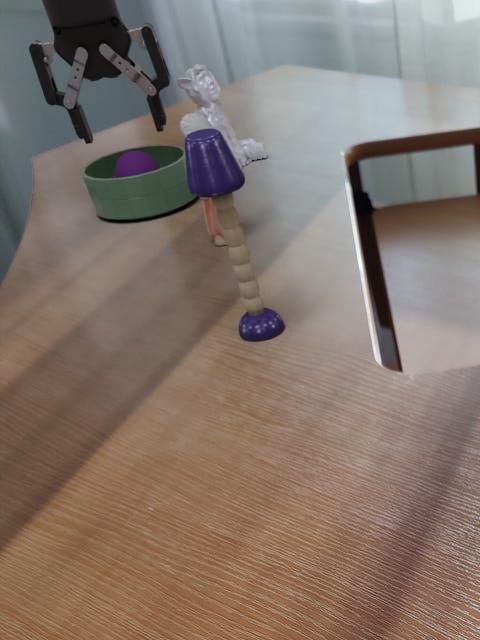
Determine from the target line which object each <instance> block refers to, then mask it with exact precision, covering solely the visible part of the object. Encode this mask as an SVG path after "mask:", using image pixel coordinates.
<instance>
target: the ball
mask: <svg viewBox="0 0 480 640" xmlns="http://www.w3.org/2000/svg"><path fill="white" fill-rule="evenodd" d="M158 169H160V166H159V164H158V163H157V162H156V160H155V159H154V158H153V157H151V156H150V155H148V154H147V153H144V152H142V151H129V152H127V153H125V154H123V155H122V156H121V157H120V158H119V160H118V162H117V164H116V169H115V175H116V178H123V177H128V176H134V175H140V174H143V173H147V172H151V171H155V170H158Z"/></svg>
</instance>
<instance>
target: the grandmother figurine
mask: <svg viewBox="0 0 480 640" xmlns="http://www.w3.org/2000/svg"><path fill="white" fill-rule="evenodd" d="M201 129H214V128H213V127H212V126H211V124H210V123H209V121H208V120H207V119H206V118H204V117H202V116H201V115H199V114H196V113H194V112H191V113H187V114H185V115H183V116H182V118H181V119H180V122H179V130H180V133H182V135H183V137H184V139H185V138H186V136H187V135H188V134H190V133H192V132H194V131H197V130H201ZM199 198H200V200H201V201H202V208H203V215H204V221H205V226H206V232H207V235H208V236H209V237H212V236H214V239H213V240H214V241H213V242H214V246H217V247H222V246H228V245H227V243H226V242H225V240H224V237H223V227H222V226H221V225H220V223H219V221H218V218H217V208H216V207H215V206H214V204H213V202H212V199H211V197H210V198H205V197H199Z"/></svg>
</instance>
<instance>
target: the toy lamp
mask: <svg viewBox="0 0 480 640" xmlns="http://www.w3.org/2000/svg"><path fill="white" fill-rule="evenodd" d="M184 148H185V157H186V169H187V180H188V187H189V190H190V192H191V193H192V194H193V195H194V196H196V197H198V198H200V197H205V198H210V197H211V199H212V202H213V204H214V206H215V207H216V208H217V218H218V221H219V223H220V225H221V226H222V227H223V237H224V240H225V242H226V243H227V245H226V246H227V253H228V257H229V259H230V261H231V263H233V265H232V269H233V274H234V276H235V278H236V280H238V289H239V292H240V294H241V296H242V297H243V306H244V308H245V310H246V311H245V313H244V314H243V315H242V316H241V317H240V320H239V323H238V334H239V337H240V338H241V339H243V340H246V341H249V342H251V341H252V342H260V341H266V340H269V339H272V338H274V337H277V336H278V335H280V334H282V332H283V331H284V329H285V325H286V324H285V322H284V320H283V319H282V316H281V315H280V314H279V313H278V312H277V311H276V310H274V309H272V308H270V307H265V301H264V298H263V297H262V295H261V294H260V285H259V282H258V280H257V278H256V270H255V267H254V264H253V263H252V261H251V253H250V248H249V246H248V244H247V243H246V242H245V237H246V236H245V232H244V229H243V227H242V226H241V224H240V214H239V212H238V210H237V208H236V206H234V204H235V203H234V201H235V200H234V192H237V191H239V190H240V189H242V188H243V186H244V185H245V184H246V177H245V174H244V172H243V169H242V170H241V168H240V166H239V164H238V162H237V160H236V158H235V157H234V155H233V153H232V151H231V149H230V147H229V146H228V144H227V142H226V140H225V138H224V136H223V135H222V133H221V132H220V131H219V130H217V129H201V130H197V131H194V132H192V133H190V134H188V135H187V136H186V138H185V137H184Z"/></svg>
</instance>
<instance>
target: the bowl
mask: <svg viewBox="0 0 480 640" xmlns="http://www.w3.org/2000/svg"><path fill="white" fill-rule="evenodd" d="M129 151H142V152H144V153H147V154H148V155H150V156H151V157H153V158H154V159H155V160H156V162H157V163H158V164H159V166H160V169H158V170H155V171H151V172H147V173H143V174H140V175H134V176H128V177H123V178H116V175H115V169H116V164H117V162H118V160H119V158H120V157H121V156H122V155H123V154H125V153H127V152H129ZM79 176H80V179H81V181H82V183H83V186H84V188H85V191H86V193H87V196H88V199H89V201H90V204H91V207H92V209H93V212H94V213H95V214H96V215H97V216H98V217H100V218H103V219H106V220H119V221H136V220H137V221H138V220H144V219H148V218H154V217H158V216H162V215H166V214H168V213H171V212H173V211H176V210H178V209H180V208H182V207H184V206H186V205H187V204H189V203H190V202H192V201H194V200H195V199H196V198H197V196H194V195H193V194H192V193H191V192H190V190H189V187H188V180H187V169H186V157H185V146H182V145H179V144H169V143H168V144H167V143H165V144H164V143H161V144H160V143H159V144H158V143H157V144H146V145H141V146H135V147H129V148H125V149H121V150H117V151H113V152H111V153H107V154H105V155H102V156H99V157H96V159H93V160H91V161H89V162H87V163H86V164H85V165H84V166H82V167H81V169H80V171H79Z"/></svg>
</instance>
